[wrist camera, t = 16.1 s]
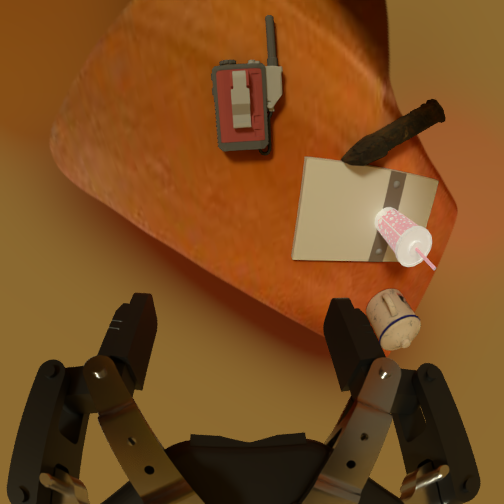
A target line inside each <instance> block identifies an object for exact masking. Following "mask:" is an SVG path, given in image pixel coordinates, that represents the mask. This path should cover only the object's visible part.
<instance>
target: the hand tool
mask: <svg viewBox="0 0 504 504" xmlns="http://www.w3.org/2000/svg"><path fill="white" fill-rule="evenodd" d="M444 121H445V114H444V110H443V108H442V107H441V106H440V105H439V103H438V102H437V100H434V99H431V100H427V102H426V104H422V105H421V107H419V108H417V109H414V110H413V111H411V112H410V113H409V114H407V115H405V116H403V117H400V118H399V119H397V120H396V121H394V122H392V123H391V124H389V125H387V126H385V127H383V128H382V129H380V130H378V131H376V132H375V133H373V134H370V135H367V136H365V137H363V138H362V139H361V140H359V141H358V142H357V143H356V144H355V145H354V146H353V147H352V148H351V149H350V150H349V151H348V152H347V153H346V154H345V155H344V156H343V157H342V159H341V160H342V161H343V162H344V163H347V164H349V165H352V166H365V165H367V164H369V163H371V162H373V161H375V160H378V159H380V158H382V157H384V156H386V155H387V153H388V151H389V150H391V149H392V148H394V147H395V146H397V145H399V144H401V143H403V142H404V141H406V140H408V139H410V138H412V137H414V136H415V135H417V134H419V133H420V132H422V131H424V130H426V129H427V128H429V127H430V126H432V125H434V124H436V123H438V122H441V123H442V122H444Z"/></svg>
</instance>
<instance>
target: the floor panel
mask: <svg viewBox="0 0 504 504" xmlns="http://www.w3.org/2000/svg"><path fill="white" fill-rule="evenodd" d="M438 182H439V181H438V180H436V179H433V178H429V177H425V176H421V175H416V174H412V173H407V172H402V171H398V170H393V169H387V168H382V167H377V166H371V165H365V166H352V165H349V164H347V163H344V162H343V161H339V160H331V159H323V158H315V157H305V160H304V168H303V176H302V184H301V192H300V199H299V207H298V214H297V221H296V228H295V234H294V241H293V248H292V254H291V257H292V260H328V261H368V262H399V261H398V260H397V258H396V255H395V253H394V251H393V250H392V249H391V247H390V246H389V244H388V243H387V242H386V240H385V239H384V238H383V236H382V235H381V234H380V232H379V231H378V230H377V229H376V226H375V218H376V216H377V214H378V213H379V212H380V211H381V210H382V209H384V208H386V207H392V208H394V209H396V210H397V211H399V212H400V213H402V214H403V215H405V216H406V217H407V218H409V219H410V220H412V221H413V222H414V223H416V224H417V225H419V226H422V227H424V228H426V225H427V222H428V219H429V216H430V212H431V209H432V205H433V202H434V198H435V194H436V190H437V186H438Z"/></svg>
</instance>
